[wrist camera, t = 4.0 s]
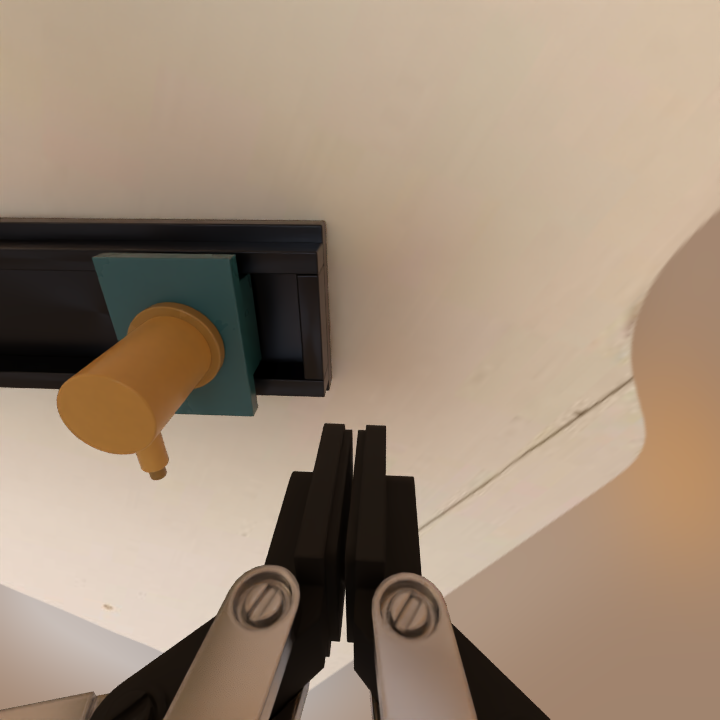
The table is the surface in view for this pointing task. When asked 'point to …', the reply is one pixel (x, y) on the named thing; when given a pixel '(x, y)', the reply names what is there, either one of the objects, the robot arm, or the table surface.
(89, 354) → the black rectangular tray
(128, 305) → the nozzle
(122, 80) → the table surface
